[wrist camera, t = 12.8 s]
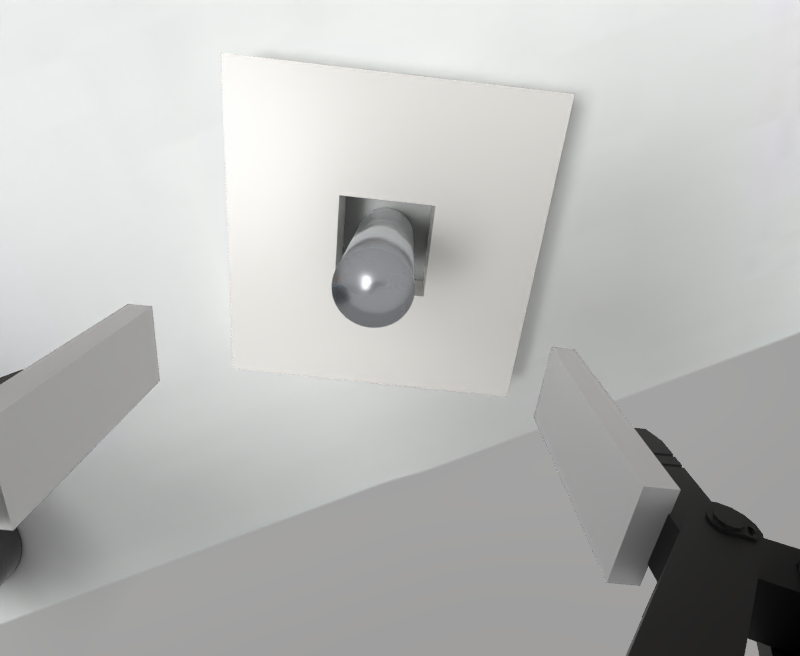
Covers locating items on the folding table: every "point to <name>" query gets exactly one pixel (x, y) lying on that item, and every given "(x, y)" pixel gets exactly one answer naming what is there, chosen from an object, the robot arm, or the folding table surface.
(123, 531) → the folding table surface
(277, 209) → the socket block
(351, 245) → the steel pin
